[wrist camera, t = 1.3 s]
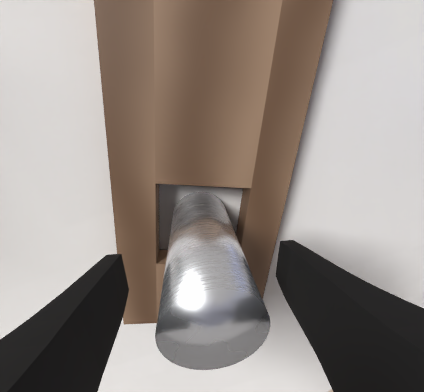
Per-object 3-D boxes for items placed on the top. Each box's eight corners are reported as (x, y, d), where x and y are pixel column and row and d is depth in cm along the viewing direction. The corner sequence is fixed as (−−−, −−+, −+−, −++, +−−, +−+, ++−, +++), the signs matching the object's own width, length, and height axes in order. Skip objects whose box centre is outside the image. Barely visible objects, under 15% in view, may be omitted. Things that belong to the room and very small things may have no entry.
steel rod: (228, 193, 13) (280, 288, 6) (223, 239, 15) (259, 365, 7) (173, 190, 13) (154, 291, 5) (172, 238, 14) (155, 373, 7)
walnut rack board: (427, -516, 6) (501, -711, 4) (252, 302, 17) (257, 318, 16) (50, -751, 5) (-11, -1135, 3) (129, 306, 16) (123, 324, 14)
